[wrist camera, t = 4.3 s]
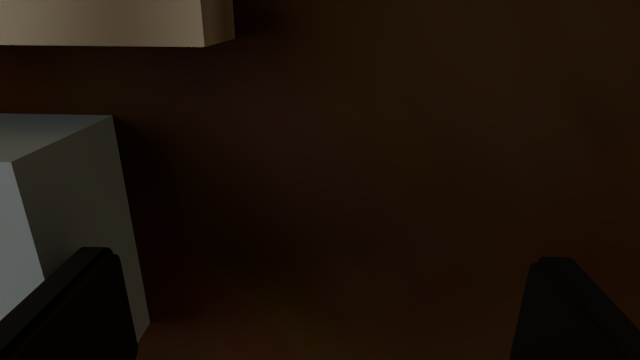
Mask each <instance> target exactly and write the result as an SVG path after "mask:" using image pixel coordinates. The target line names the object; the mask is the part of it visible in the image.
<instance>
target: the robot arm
mask: <svg viewBox="0 0 640 360" xmlns="http://www.w3.org/2000/svg"><path fill="white" fill-rule="evenodd" d="M137 352H138V343H137V338H136V333H135V329H134V324H133V319H132V314H131V309H130V304H129V299H128V295H127V290H126V285H125V280H124V275H123V270H122V265H121V260H120V257H119V256H118V255H117V254H113V251H112V250H111V249H110V248H108V247H81V248H80V249H78V250H77V251H76V252H75V253H74V254H73V255H72V256H71V257H69V258H68V259H67V260H66V261H65V262H64V263H63V264H62V265H61V266H60V267H59V268H57V269H56V270H55V271H54V272H53V273H52V274H51V275H50V276H49V277H48V278H46V279H45V280H44V281H43V282H42V283H41V284H40V285H39V286H38V287H37V288H36V289H34V290H33V291H32V292H31V293H30V294H29V295H28V296H27V297H26V298H25V299H23V300H22V301H21V302H20V303H19V304H18V305H17V306H16V307H15V308H14V309H12V310H11V311H10V312H9V313H8V314H7V315H6V316H5V317H4V318H3V319H2V320H0V360H135V359H136V356H137ZM510 360H640V330H639V329H638V328H637V327H636V326H635V325H634V324H633V323H632V322H631V321H630V320H629V319H628V318H627V317H626V315H625V314H624V313H623V312H622V311H621V310H620V309H619V308H618V307H617V306H616V305H615V304H614V303H613V302H612V301H611V300H610V299H609V297H608V296H607V295H606V294H605V293H604V292H603V291H602V290H601V289H600V288H599V287H598V286H597V285H596V284H595V283H594V282H593V280H592V279H591V278H590V277H589V276H588V275H587V274H586V273H585V272H584V271H583V270H582V269H581V268H580V267H579V266H578V265H577V264H576V262H575V261H574V260H572V259H571V258H567V257H541V258H540V259H539V260H538V262H537V263H533V264H531V266H530V268H529V272H528V277H527V281H526V286H525V290H524V295H523V300H522V304H521V309H520V313H519V318H518V323H517V327H516V332H515V336H514V341H513V346H512V350H511V355H510Z"/></svg>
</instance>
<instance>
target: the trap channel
mask: <svg viewBox="0 0 640 360" xmlns="http://www.w3.org/2000/svg"><path fill="white" fill-rule="evenodd" d="M232 39H235V28H234V13H233V0H0V45H58V46H152V47H207V46H210V45H214V44H218V43H221V42H225V41H229V40H232Z"/></svg>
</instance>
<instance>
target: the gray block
mask: <svg viewBox="0 0 640 360" xmlns="http://www.w3.org/2000/svg"><path fill="white" fill-rule="evenodd" d="M81 247H108V248H110V249H111V250H112V251H113V254H117V255H118V256H119V257H120V260H121V265H122V270H123V275H124V280H125V285H126V290H127V295H128V299H129V304H130V309H131V314H132V319H133V324H134V329H135V333H136V338H137V343H138V342H139V340H140V339H141V337H142V335H143V334H144V332H145V330H146V329H147V327H148V326H149V324H150V320H149V314H148V309H147V303H146V298H145V292H144V287H143V281H142V276H141V270H140V265H139V259H138V254H137V248H136V243H135V238H134V232H133V227H132V221H131V216H130V210H129V205H128V199H127V194H126V188H125V183H124V177H123V172H122V166H121V161H120V155H119V150H118V145H117V139H116V134H115V128H114V123H113V117H112V115H62V114H4V113H0V320H2V319H3V318H4V317H5V316H6V315H7V314H8V313H9V312H10V311H11V310H12V309H14V308H15V307H16V306H17V305H18V304H19V303H20V302H21V301H22V300H23V299H25V298H26V297H27V296H28V295H29V294H30V293H31V292H32V291H33V290H34V289H36V288H37V287H38V286H39V285H40V284H41V283H42V282H43V281H44V280H45V279H46V278H48V277H49V276H50V275H51V274H52V273H53V272H54V271H55V270H56V269H57V268H59V267H60V266H61V265H62V264H63V263H64V262H65V261H66V260H67V259H68V258H69V257H71V256H72V255H73V254H74V253H75V252H76V251H77V250H78V249H80V248H81Z"/></svg>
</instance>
